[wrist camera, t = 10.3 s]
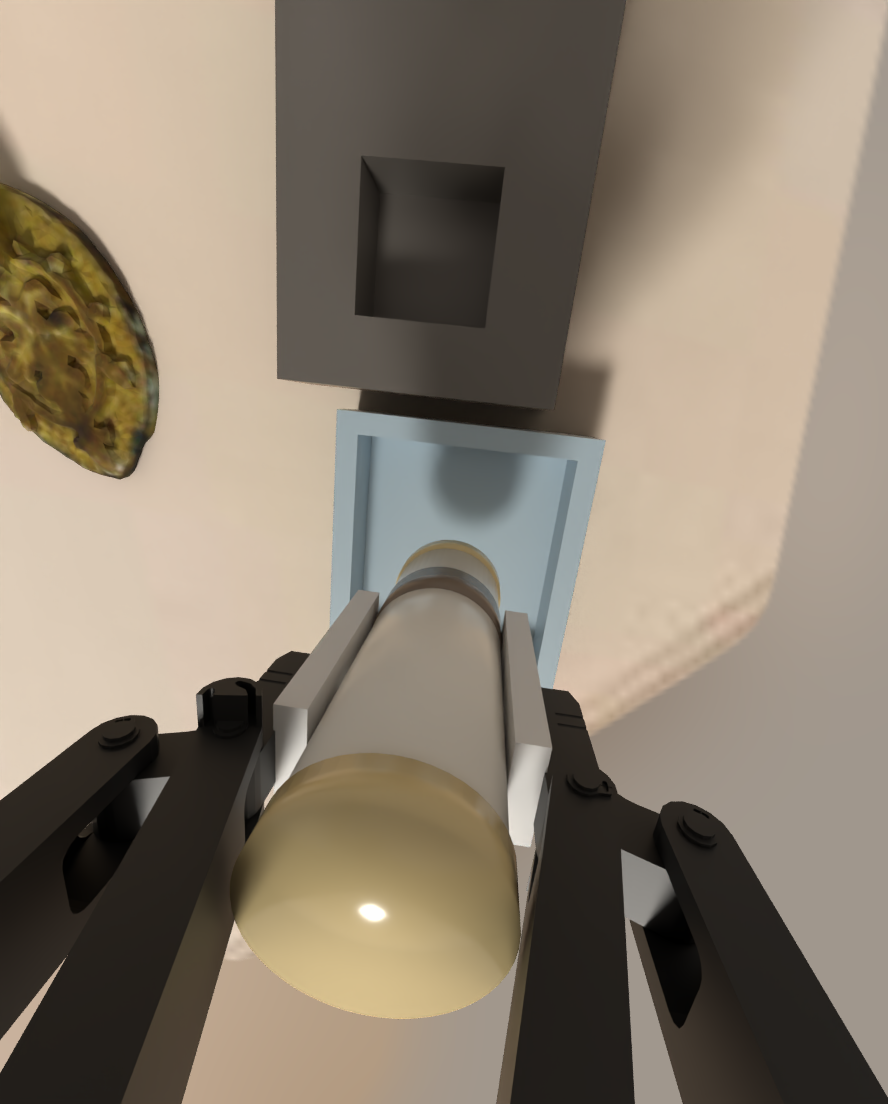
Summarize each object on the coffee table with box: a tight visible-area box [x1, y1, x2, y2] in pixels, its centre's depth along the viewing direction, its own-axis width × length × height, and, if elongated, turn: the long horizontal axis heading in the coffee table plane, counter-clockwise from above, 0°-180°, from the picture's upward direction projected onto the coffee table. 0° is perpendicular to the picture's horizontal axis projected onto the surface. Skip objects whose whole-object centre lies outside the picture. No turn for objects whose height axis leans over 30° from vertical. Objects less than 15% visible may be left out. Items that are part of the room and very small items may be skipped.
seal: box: [0, 183, 159, 479], centre depth 22 cm, size 9×5×15 cm
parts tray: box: [330, 409, 606, 689], centre depth 24 cm, size 14×12×3 cm
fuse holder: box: [275, 0, 626, 410], centre depth 18 cm, size 22×12×4 cm, turn 174°
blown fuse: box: [230, 540, 521, 1019], centre depth 14 cm, size 5×5×14 cm
